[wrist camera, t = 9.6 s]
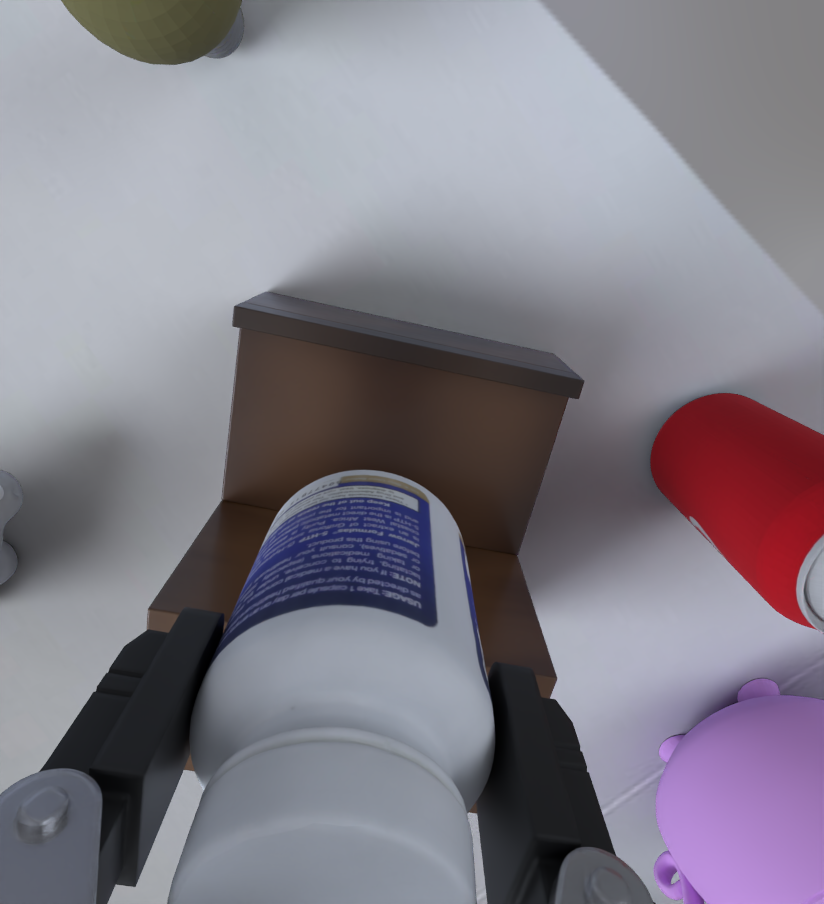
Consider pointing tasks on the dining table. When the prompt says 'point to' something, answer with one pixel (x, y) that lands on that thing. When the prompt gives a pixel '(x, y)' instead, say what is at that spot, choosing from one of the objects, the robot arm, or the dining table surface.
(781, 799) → the teapot
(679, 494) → the beverage can
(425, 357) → the rack
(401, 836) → the pill bottle
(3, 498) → the chubby cartoon animal
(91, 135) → the dining table surface
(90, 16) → the light bulb
